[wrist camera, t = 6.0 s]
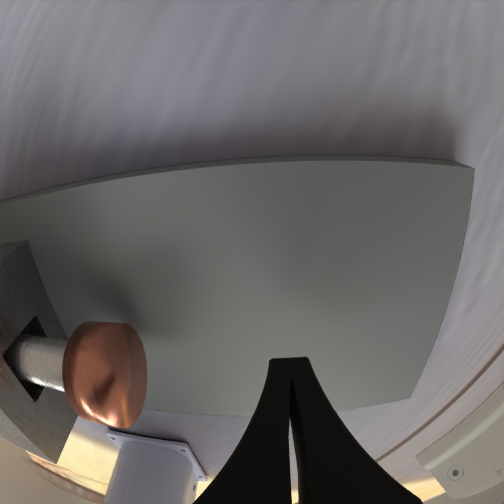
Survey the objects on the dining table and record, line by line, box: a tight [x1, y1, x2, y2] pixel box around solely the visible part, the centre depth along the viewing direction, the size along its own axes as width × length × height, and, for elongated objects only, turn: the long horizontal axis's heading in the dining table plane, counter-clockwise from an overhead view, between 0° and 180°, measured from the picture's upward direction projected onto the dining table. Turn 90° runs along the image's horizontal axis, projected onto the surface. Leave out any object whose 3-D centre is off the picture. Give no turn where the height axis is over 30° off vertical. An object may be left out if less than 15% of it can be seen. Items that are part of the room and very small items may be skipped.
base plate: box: [0, 155, 475, 416], centre depth 13 cm, size 14×26×2 cm, turn 94°
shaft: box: [2, 321, 147, 428], centre depth 11 cm, size 4×15×4 cm, turn 94°
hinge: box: [416, 382, 504, 499], centre depth 17 cm, size 17×5×10 cm, turn 157°
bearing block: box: [0, 240, 78, 464], centre depth 11 cm, size 10×6×6 cm, turn 4°
